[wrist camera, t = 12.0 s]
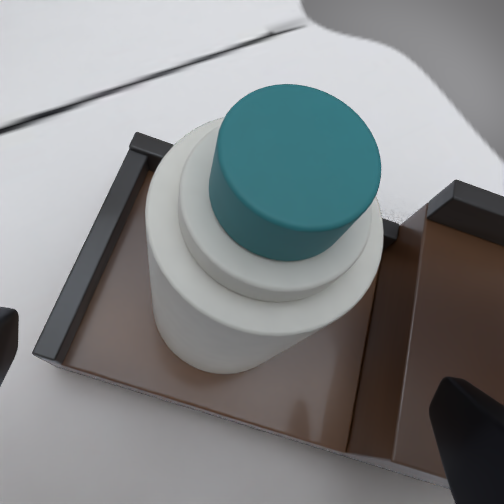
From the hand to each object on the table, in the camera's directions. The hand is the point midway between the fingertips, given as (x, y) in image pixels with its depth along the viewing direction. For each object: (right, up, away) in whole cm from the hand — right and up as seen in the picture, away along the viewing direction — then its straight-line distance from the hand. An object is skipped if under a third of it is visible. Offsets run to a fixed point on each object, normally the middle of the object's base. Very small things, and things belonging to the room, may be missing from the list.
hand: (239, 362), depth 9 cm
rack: (+4, -1, +8) cm, 9 cm away
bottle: (-1, +1, +6) cm, 6 cm away
